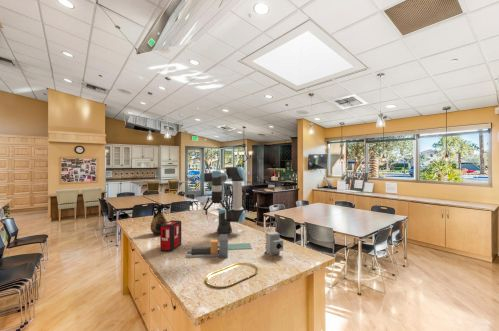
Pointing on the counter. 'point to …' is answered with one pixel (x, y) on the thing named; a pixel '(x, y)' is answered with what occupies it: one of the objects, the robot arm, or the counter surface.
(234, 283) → the gold oval ring
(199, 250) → the plug
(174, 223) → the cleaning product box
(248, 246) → the mat
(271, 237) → the circuit breaker
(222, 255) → the housing
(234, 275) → the counter surface
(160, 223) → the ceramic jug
